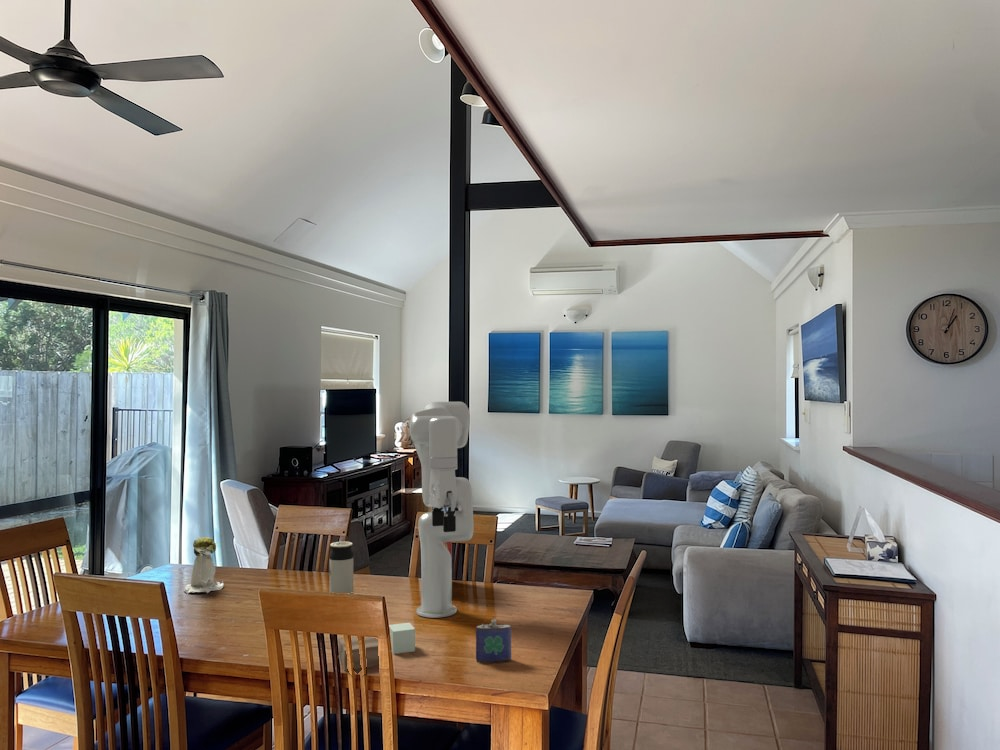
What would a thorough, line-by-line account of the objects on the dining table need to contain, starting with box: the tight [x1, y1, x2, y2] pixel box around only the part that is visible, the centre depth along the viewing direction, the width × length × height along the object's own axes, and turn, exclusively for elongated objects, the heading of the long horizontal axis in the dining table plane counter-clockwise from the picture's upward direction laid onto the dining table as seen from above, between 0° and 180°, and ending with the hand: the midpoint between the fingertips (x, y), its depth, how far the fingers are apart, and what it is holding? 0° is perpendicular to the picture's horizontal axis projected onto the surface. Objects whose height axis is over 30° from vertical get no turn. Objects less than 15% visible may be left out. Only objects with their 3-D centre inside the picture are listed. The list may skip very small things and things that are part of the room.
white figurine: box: [183, 536, 224, 595], centre depth 264 cm, size 12×13×18 cm
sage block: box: [388, 622, 416, 655], centre depth 202 cm, size 6×6×6 cm
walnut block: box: [337, 635, 380, 671], centre depth 193 cm, size 10×10×5 cm
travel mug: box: [329, 540, 354, 594], centre depth 254 cm, size 8×8×18 cm
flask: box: [475, 618, 512, 664], centre depth 193 cm, size 9×3×11 cm, turn 95°
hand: (443, 528), depth 197 cm, fingers open, 9 cm apart
